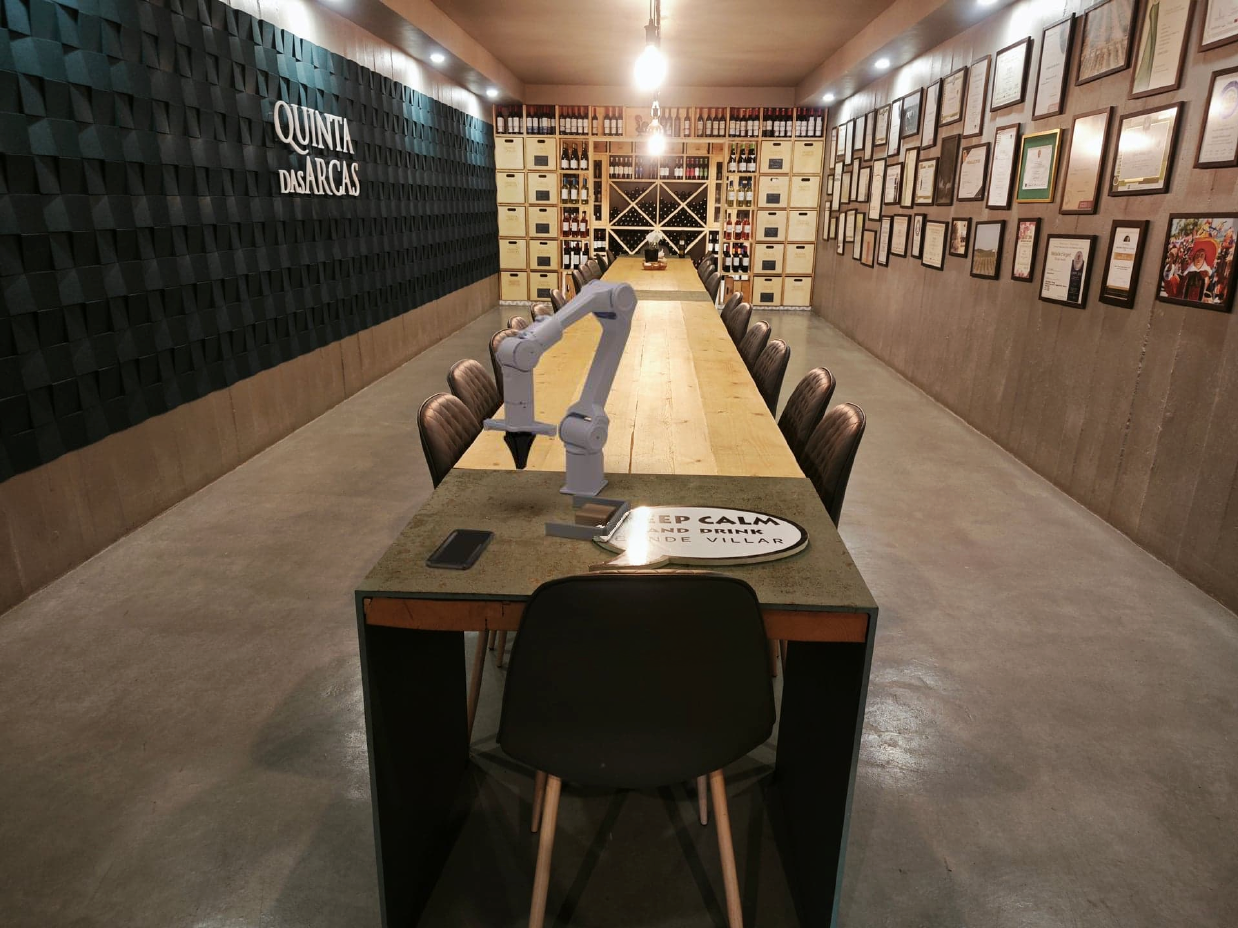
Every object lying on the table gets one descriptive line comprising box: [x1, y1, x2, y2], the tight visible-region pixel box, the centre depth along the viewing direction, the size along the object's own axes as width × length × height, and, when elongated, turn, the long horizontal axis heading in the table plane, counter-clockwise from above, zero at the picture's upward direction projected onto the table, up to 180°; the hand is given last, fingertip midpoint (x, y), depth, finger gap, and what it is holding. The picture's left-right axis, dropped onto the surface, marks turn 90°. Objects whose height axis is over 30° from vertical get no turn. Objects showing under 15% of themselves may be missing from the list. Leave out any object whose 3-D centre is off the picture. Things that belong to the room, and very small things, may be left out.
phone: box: [425, 528, 495, 571], centre depth 138 cm, size 8×1×15 cm
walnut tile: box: [574, 504, 617, 527], centre depth 149 cm, size 6×6×3 cm
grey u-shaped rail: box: [545, 494, 632, 542], centre depth 149 cm, size 16×12×2 cm
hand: (521, 468), depth 155 cm, fingers closed
